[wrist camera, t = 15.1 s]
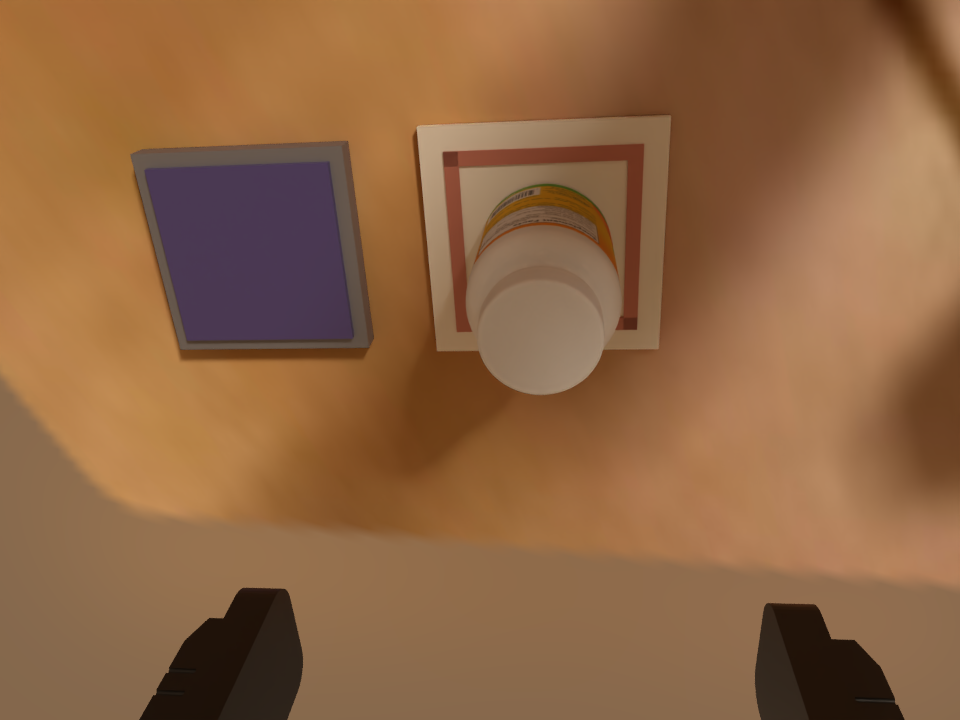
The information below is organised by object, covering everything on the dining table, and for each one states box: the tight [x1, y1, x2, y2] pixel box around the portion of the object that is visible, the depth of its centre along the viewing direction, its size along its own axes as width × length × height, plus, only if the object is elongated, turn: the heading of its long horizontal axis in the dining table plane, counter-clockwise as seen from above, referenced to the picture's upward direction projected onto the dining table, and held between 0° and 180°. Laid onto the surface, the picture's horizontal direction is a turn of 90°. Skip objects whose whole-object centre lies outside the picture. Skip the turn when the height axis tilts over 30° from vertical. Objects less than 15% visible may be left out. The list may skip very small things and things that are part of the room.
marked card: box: [417, 115, 671, 351], centre depth 32 cm, size 10×10×1 cm
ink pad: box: [130, 141, 374, 350], centre depth 33 cm, size 9×9×1 cm
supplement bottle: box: [466, 182, 622, 395], centre depth 28 cm, size 5×5×10 cm
